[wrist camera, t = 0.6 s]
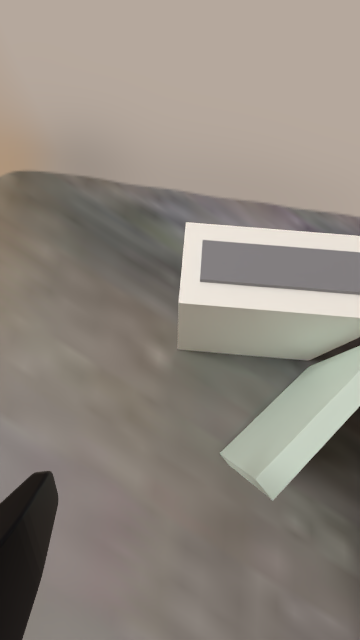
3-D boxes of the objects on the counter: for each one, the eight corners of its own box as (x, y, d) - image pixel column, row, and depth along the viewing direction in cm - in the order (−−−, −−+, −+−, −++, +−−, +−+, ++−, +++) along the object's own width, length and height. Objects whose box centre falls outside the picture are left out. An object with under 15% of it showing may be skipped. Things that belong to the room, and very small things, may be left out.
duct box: (308, 360, 24) (399, 318, 14) (177, 349, 24) (178, 300, 14) (304, 305, 26) (384, 234, 16) (182, 295, 26) (186, 218, 16)
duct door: (318, 376, 23) (416, 344, 14) (228, 464, 21) (272, 500, 11) (308, 366, 23) (398, 329, 14) (219, 453, 21) (255, 478, 12)
